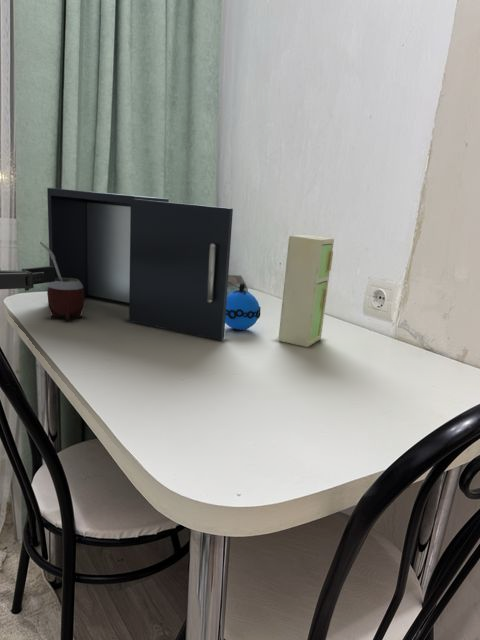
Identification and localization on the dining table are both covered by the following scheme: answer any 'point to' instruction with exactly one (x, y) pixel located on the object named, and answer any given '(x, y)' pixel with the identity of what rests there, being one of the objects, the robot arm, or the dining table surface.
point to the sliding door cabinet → (145, 256)
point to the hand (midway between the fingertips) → (25, 268)
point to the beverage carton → (235, 283)
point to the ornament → (241, 309)
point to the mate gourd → (64, 295)
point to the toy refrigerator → (305, 289)
